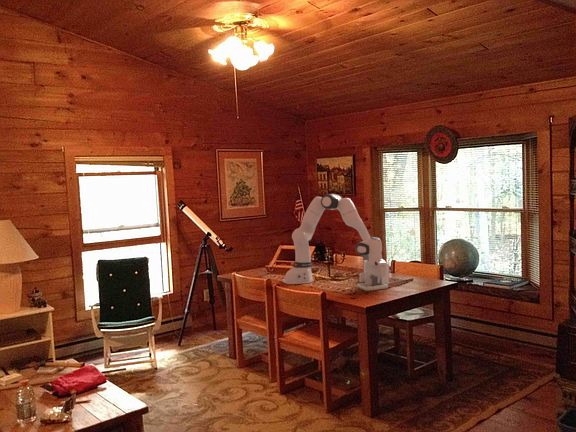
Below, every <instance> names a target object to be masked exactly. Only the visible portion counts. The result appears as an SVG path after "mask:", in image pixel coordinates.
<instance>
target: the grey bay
mask: <svg viewBox="0 0 576 432" xmlns="http://www.w3.org/2000/svg"><path fill="white" fill-rule="evenodd" d="M366 263H367V260H365V261H364V273H363V272H360V273H359V276H358V277H359V284H361V283H365V279H370V274H369V273H366V272H365V267H366ZM385 266H386V276H385V277H382V283H384V284H388V285H389V284H390V263H388V262H386V265H385ZM373 276H375V275H373Z"/></svg>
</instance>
